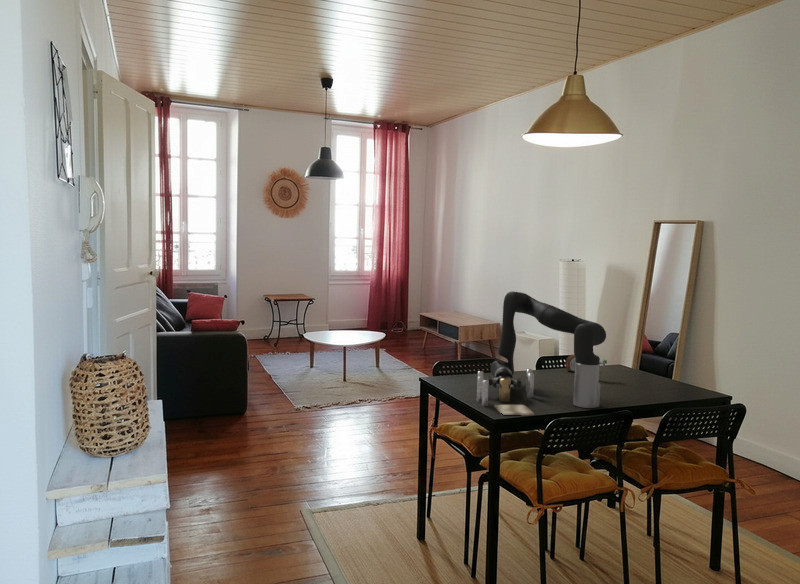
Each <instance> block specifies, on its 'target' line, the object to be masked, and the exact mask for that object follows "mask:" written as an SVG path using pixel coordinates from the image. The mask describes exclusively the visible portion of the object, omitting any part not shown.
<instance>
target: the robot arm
mask: <svg viewBox="0 0 800 584" xmlns="http://www.w3.org/2000/svg"><path fill="white" fill-rule="evenodd" d="M516 313H519V314H525V315H528V316H531V317H534V318H535V320H537V322H539V324H541V325H542V326H545V327H546V328H549V329H550V330H553V331H557V332H563V333H565V334H566V333H567V334H572V335H573V355H575V359H576V361H575V371H574V379H573V380H574V381H573V382H574V383H573V398H572V399H573V400H572V401H573V402H572V404H573V405H574V406H576V407H579V408H584V409H593V408H594V409H595V408H599V407H600V398H601V397H600V396H601V383H600V382H599V381H600V380H599V378H600V377H599V376H600V368H599V366H600V365H601V364H600V363H601V362H600V356H599V355H597V354H595V353H594V347H595V346H599V345H601V344H603V343H604V342H605V341H606V339H607V333H606V332H607V331H606V330H605V328H604V326H602V325H601V324H599V323H597V322H595V321H591V320H587V319H583V318H581V317H578V316H576V315H574V314H572V313H569V312H567V311H565V310H563V309H561V308H559V307H557V306H554V305H551V304H548V303H545V302H542V301H539V300H537V299H535V298H534V297H532V296H531V295H529V294H527V293H525V292H519V291H514V290H513V291H509V292H507V293H506V295H505V296H504V299H503V305H502V325H501V335H500V341H499V346H498V352H497V353H498V355H499V356H501V357H503V358H505V359H506V360H507V361H502V360H494V361H493V362H492V363H491V364H490V373H491V375H492V376H493V377H491V376H487V380H488V381H489V387H490V386H492V387H494V388H495V389H497V387H499V385H500V378H510V379H511V385H510V388H512V389H513V390H516V389H517V388H522V378H519V377H518V378H516V379H515V378H514V377H513V376H514V374H515V366H514V355H515V354H514V353H515V350H516V349H515V348H516V344H517V336H516V335H517V334H516V330H515V325H514V324H515V323H514V320H515V319H514V318H515V315H516Z"/></svg>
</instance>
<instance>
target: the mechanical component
mask: <svg viewBox="0 0 800 584" xmlns="http://www.w3.org/2000/svg"><path fill="white" fill-rule="evenodd" d="M607 363H608V359H603V360H602V362H600V364H599V369H603V368H605V366H606V365H607Z"/></svg>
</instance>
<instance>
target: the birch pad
mask: <svg viewBox="0 0 800 584" xmlns="http://www.w3.org/2000/svg"><path fill="white" fill-rule="evenodd" d="M493 408H495V410H497V412H498V413H500V414H501V413H502V414H503V415H521V416H535V412H533V410H531V409H530V408H529V407H527V405H524V404H494V405H493ZM502 414H501V415H502ZM503 415H502V416H503Z"/></svg>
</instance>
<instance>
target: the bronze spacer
mask: <svg viewBox="0 0 800 584" xmlns="http://www.w3.org/2000/svg"><path fill="white" fill-rule="evenodd" d="M510 385H511V379H510V378H500V385H499V386H498V387H499V389H498V401H499V402H501V401H502V403H509V402H510V400H511V387H510Z"/></svg>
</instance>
